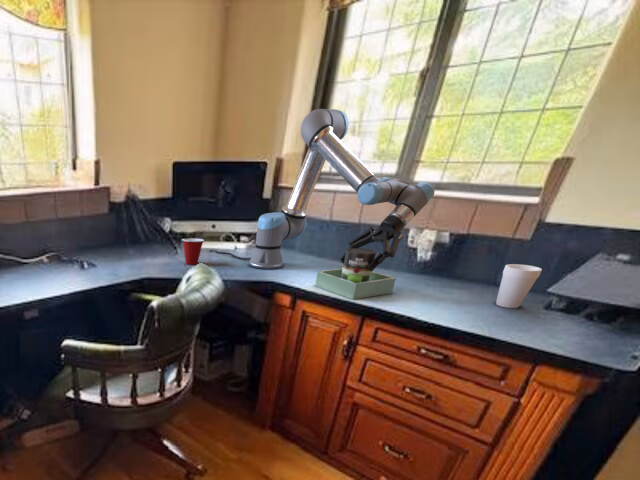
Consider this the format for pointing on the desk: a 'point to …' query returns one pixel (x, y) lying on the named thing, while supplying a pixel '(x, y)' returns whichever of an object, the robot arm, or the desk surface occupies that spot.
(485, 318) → the desk surface
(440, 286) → the desk surface
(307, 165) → the robot arm
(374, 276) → the tray
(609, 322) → the desk surface
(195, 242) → the plastic cup
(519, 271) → the foam cup
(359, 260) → the coffee can
